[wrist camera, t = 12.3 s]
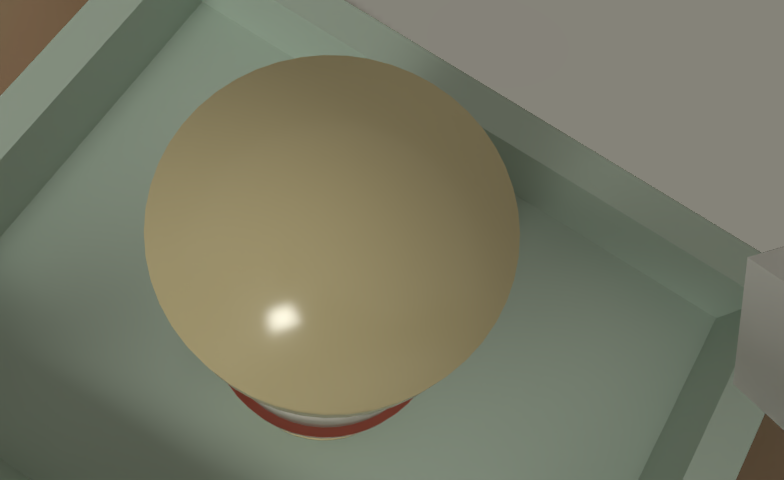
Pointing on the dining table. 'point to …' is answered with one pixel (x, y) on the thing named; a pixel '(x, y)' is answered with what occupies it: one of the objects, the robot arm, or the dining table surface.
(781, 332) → the robot arm
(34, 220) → the tray
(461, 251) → the marked fuse
